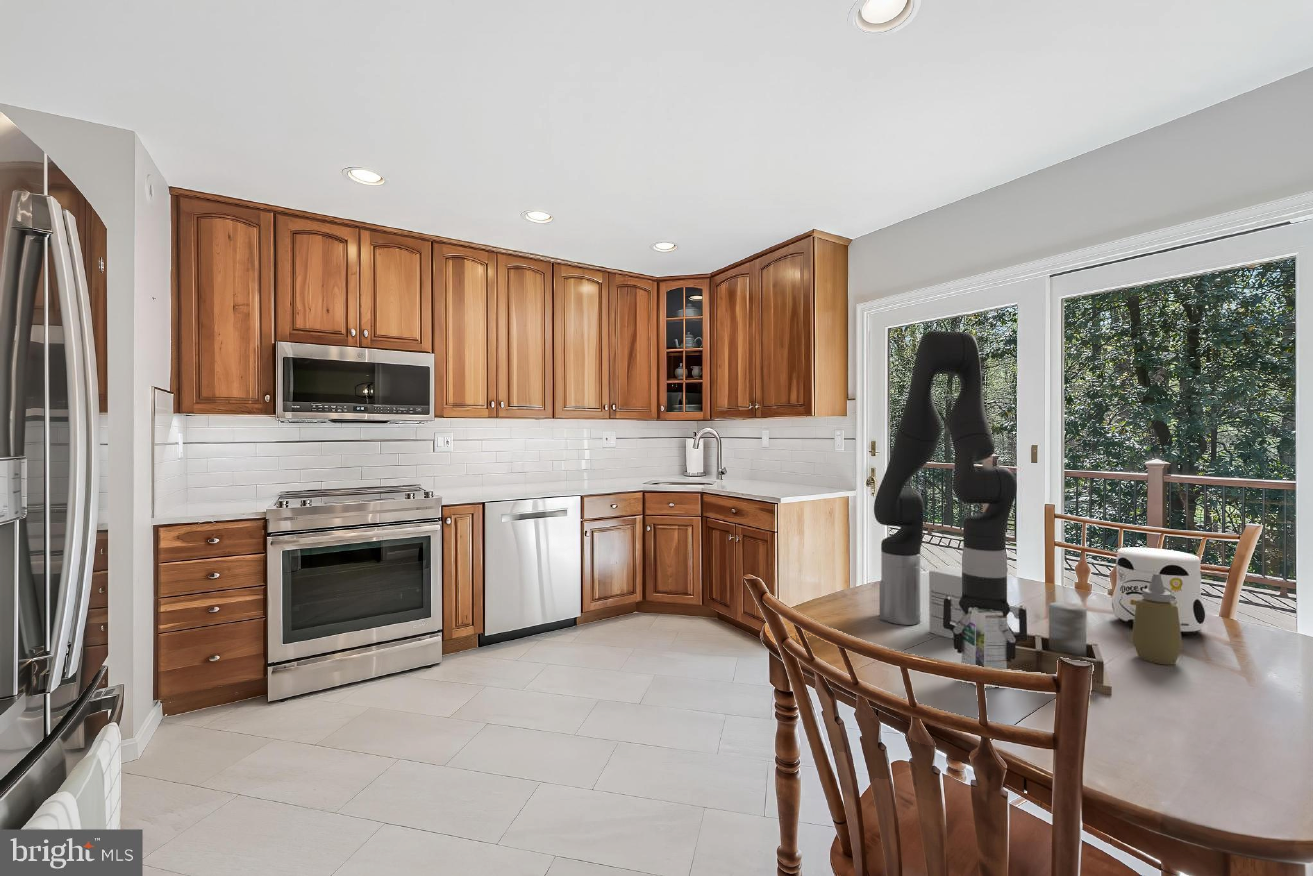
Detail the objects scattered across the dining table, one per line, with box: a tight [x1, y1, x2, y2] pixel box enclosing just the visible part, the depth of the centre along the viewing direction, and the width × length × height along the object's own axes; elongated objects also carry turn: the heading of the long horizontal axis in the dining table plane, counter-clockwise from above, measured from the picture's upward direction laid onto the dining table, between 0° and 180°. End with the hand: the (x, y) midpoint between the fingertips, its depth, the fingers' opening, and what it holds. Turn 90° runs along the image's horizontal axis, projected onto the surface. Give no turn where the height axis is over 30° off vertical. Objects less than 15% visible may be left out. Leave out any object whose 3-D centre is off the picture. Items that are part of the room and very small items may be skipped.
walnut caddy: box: [1007, 602, 1113, 696], centre depth 117 cm, size 22×12×14 cm, turn 58°
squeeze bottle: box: [1131, 573, 1184, 665], centre depth 121 cm, size 8×8×18 cm
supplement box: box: [928, 565, 962, 639], centre depth 138 cm, size 9×9×15 cm
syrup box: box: [961, 607, 1008, 689], centre depth 111 cm, size 6×6×14 cm
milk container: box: [1111, 546, 1207, 635], centre depth 141 cm, size 17×17×18 cm
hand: (984, 656), depth 111 cm, fingers closed on syrup box, 7 cm apart
